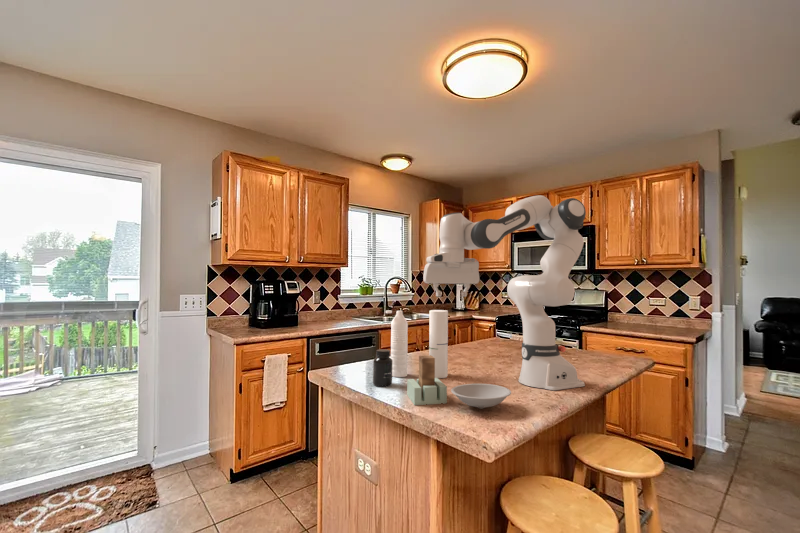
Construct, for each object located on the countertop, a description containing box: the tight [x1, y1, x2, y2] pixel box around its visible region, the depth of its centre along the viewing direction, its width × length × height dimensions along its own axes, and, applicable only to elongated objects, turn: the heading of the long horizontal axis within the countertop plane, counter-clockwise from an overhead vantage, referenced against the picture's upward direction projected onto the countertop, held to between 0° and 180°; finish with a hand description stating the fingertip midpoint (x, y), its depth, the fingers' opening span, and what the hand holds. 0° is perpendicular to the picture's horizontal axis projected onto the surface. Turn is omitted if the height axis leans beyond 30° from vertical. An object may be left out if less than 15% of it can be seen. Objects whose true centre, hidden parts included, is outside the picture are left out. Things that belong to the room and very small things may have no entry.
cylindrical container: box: [428, 309, 449, 379], centre depth 145 cm, size 7×7×25 cm
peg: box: [418, 354, 435, 398], centre depth 117 cm, size 4×4×12 cm
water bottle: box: [385, 309, 409, 378], centre depth 145 cm, size 9×6×25 cm
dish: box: [450, 383, 512, 409], centre depth 109 cm, size 18×14×5 cm
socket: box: [406, 378, 448, 406], centre depth 117 cm, size 10×10×5 cm
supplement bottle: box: [372, 348, 393, 388], centre depth 132 cm, size 7×7×12 cm
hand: (451, 296), depth 134 cm, fingers open, 8 cm apart
